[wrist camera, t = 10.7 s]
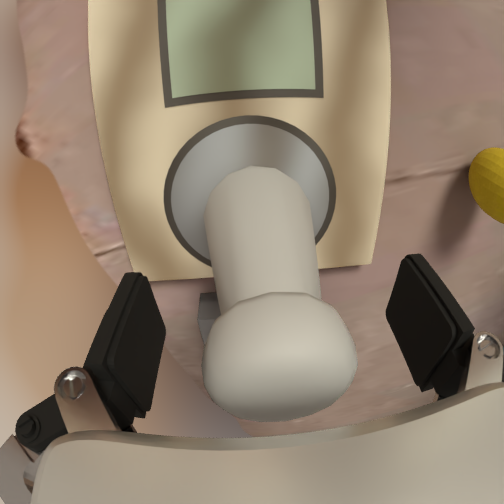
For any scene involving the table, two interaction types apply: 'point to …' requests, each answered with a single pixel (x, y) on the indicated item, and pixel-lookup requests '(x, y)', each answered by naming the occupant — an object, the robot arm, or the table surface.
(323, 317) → the salt shaker
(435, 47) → the table surface
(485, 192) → the lemon
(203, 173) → the picture board
